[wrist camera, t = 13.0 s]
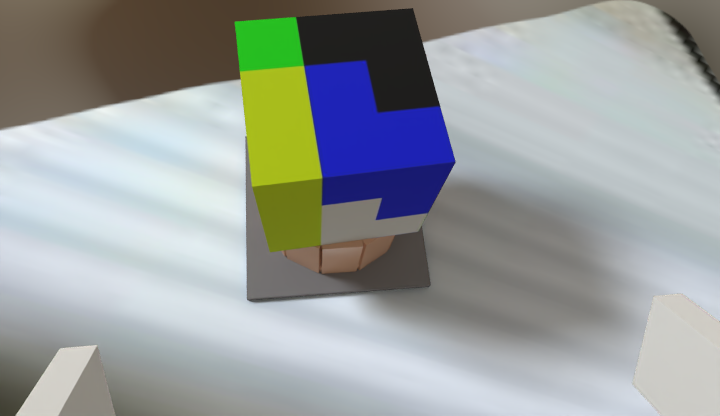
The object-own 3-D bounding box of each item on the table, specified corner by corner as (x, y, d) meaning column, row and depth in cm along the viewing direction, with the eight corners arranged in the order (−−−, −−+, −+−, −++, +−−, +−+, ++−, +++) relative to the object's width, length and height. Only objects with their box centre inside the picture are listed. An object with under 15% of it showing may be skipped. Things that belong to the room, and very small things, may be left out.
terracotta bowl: (266, 277, 38) (258, 253, 33) (263, 150, 42) (256, 110, 37) (409, 267, 39) (424, 242, 34) (392, 145, 44) (403, 105, 38)
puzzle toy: (418, 231, 34) (455, 162, 25) (269, 252, 33) (251, 186, 24) (389, 108, 38) (412, 8, 29) (255, 122, 36) (234, 21, 27)
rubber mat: (247, 300, 38) (246, 298, 37) (246, 139, 43) (245, 136, 43) (429, 286, 39) (430, 284, 39) (405, 132, 45) (407, 129, 44)
